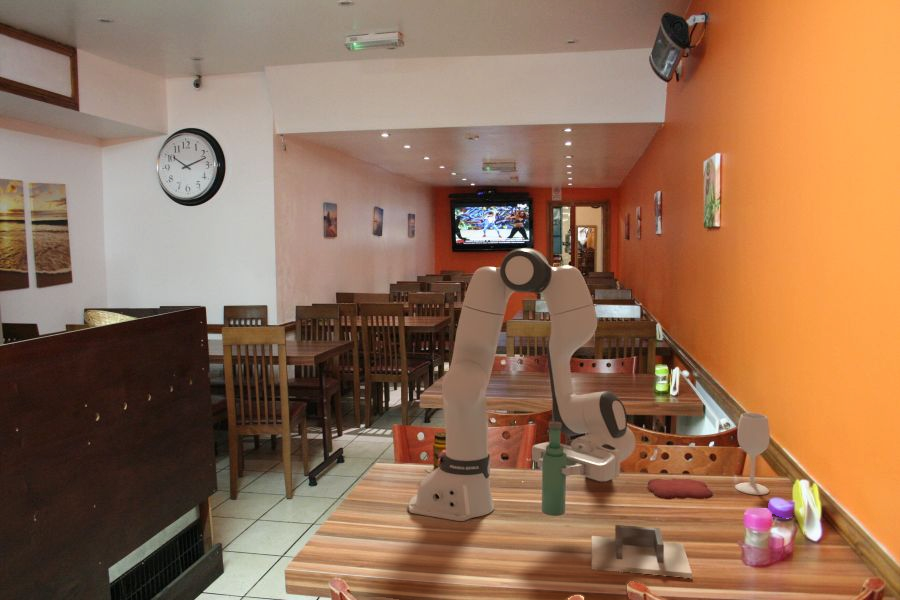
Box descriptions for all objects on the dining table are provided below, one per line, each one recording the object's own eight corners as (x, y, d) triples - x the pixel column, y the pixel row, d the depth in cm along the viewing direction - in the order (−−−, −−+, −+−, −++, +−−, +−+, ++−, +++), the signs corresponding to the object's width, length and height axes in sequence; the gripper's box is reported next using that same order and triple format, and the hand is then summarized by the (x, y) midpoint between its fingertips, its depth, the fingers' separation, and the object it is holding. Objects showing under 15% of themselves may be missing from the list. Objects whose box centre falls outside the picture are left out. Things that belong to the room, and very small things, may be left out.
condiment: (440, 478, 194) (439, 438, 193) (424, 470, 200) (424, 432, 200) (460, 473, 198) (459, 434, 197) (444, 466, 205) (443, 428, 204)
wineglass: (730, 484, 187) (731, 412, 185) (760, 484, 187) (762, 412, 185) (742, 495, 178) (744, 419, 177) (774, 495, 178) (777, 419, 176)
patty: (654, 500, 176) (654, 493, 176) (641, 482, 190) (641, 475, 190) (719, 501, 176) (719, 493, 176) (701, 482, 189) (701, 476, 189)
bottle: (540, 514, 143) (542, 425, 142) (542, 505, 148) (544, 419, 147) (564, 516, 142) (566, 427, 140) (565, 507, 147) (567, 420, 146)
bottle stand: (591, 569, 137) (591, 545, 137) (591, 540, 151) (591, 519, 150) (691, 578, 133) (692, 554, 133) (682, 548, 147) (682, 526, 146)
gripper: (552, 432, 160) (516, 443, 151) (626, 451, 146) (590, 465, 136) (552, 457, 161) (515, 470, 151) (625, 478, 146) (589, 494, 137)
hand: (551, 468), depth 144 cm, fingers closed on bottle, 5 cm apart
